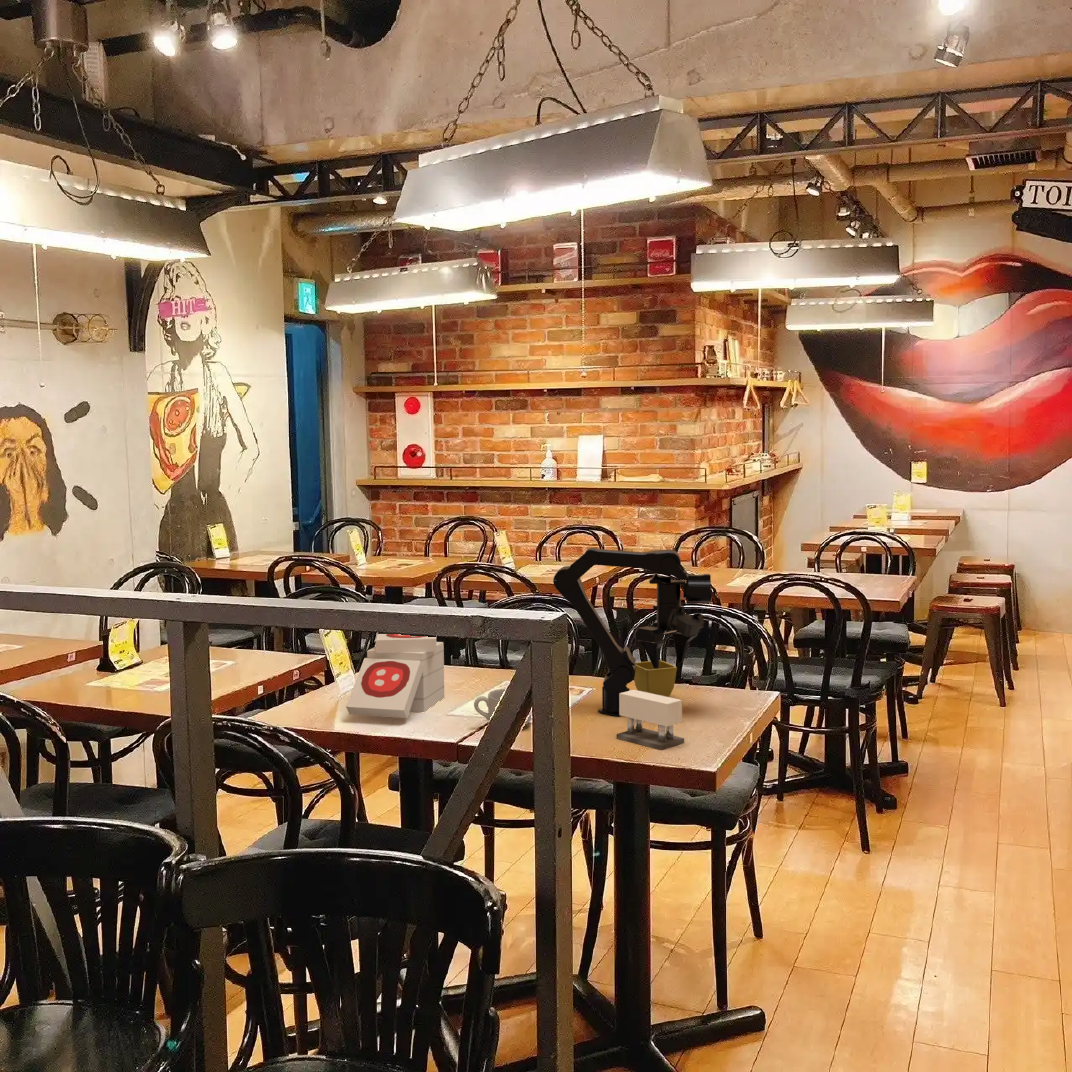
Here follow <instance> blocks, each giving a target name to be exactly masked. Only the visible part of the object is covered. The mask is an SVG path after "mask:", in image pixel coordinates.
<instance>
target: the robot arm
mask: <svg viewBox="0 0 1072 1072" xmlns="http://www.w3.org/2000/svg"><path fill="white" fill-rule="evenodd" d="M594 566H605V567H617V568H618V567H619V568H632V569H642V570H646V571H650V572H652V573H654V575H653V576H652V577H651V578H650V579H649V580H648V582H649V583H648V584H650V585H651V584H652V585H656V605H653V606H652V610H653V611H656V621H654V622H652V626H648V625H647V626H642V627H637V628H636V629H635V631H634V640H636V641H638V643H639V644H641V645H642V647H643V648H644V650H645V652H646V654H647V656H648V658H649V661H651V663H652V665H653V667H654V668H656V669H658V667H659V661H660V655H661V654H660V653H661V647H662V646H663V645H664V644H665V641H663V640H664V638H665V636H667V635H672V638H673V643H674V649H675V655H676V659H677V662H678V664H679V663H680V664H681V663H683V662H684V660H685V657H686V653H687V650H688V647H689V644H690V643H691V641H692V640H694V638H696V637H697V636H698V634H701V633H702V628H704V627H705V626H704V623H705V619H704V614H702V613H700V612H696V613H694V614H693V615H692V614H687V613H686V608H685V606H684V605H682V604H681V603H682V602H681V601H682V600H681V595H682V594H681V590H682V585H683V599H685V600H687V602H688V603H712V593H713V592H712V581H711V575H712V574H710V573H703V574H689V573H688V572H687V569H685V567H684V566H683V565H682V560H681V556H680V554H679V553H678V551H676V550H674V549H671V548H670V549H669V548H668V549H667V548H666V549H657V550H656V549H655V550H651V551H649V550H648V551H631V550H630V551H629V550H618V549H615V550H614V549H602V548H596V547H589V548H588V549H587V550H586V551H585V552H584V553H583V554H582V555H581V556H580V557H578V558H577V559H576V560H575V561H574V562H573V563H571V565H570V566H569V565H567V566H563V567H561V568H559V569H558V570H557V572H556V573H555V574H554V575H553V587H554V588H555V589H556V590H557V591H558V593H560V595H561V596H562V597H563V598H564V599H565V600H566V601H567V602H569V604H570V605H572V606H573V607H574V609H575V611H576V612H577V614H578V615H579V618H580V619H581V621H582V622H583V623H584V625H585V627H586V628H587V629H588V630H587V631H589V633H590V635H591V636H592V637H593V639H594V641H595V642H596V644H597V646H598V647H599V649H600V650H601V652H602V654H603V656H604V659H605V661H606V665H607V667H608V672H607V673H606V674H605V676H604V678H603V682H602V686H601V688H602V689H601V690H602V691H601V694H602V695H601V696H602V697H601V701H602V702H601V706H602V708H599V709H597V712H598V713H601V714H605V715H610V716H615V717H619V716H621V715H619V693H623V692H627V691H630V688H629V687H628V686H627V685H628V684H631V682H632V681H634V677H635V672H636V664H635V663H637V662H636V661H637V659H636V658H635V657H634V655H632V653H631V651H630V649H629V647H628V645H626V646H625V647H624V648H622V647H621V646H619V644H618V643H617V641H616V640H615V638H614V637H613V635H612V634H611V632H610V631H609V629H608V627H607V626H606V624H605V623H604V621H603V619H602V618H601V616H600V614H598V612H597V610H596V609H595V607H594V605H593V604H592V602H591V601H590V598H589V597H588V595H587V593H586V589H585V586H584V584H583V582H582V579H581V578H582V577H583V576H584V575H585V574H586V573H587V572H588V571H589V570H590V569H592V567H594ZM661 575H663V576H661ZM672 577H674V578H675V579H672Z"/></svg>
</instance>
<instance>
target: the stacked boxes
mask: <svg viewBox="0 0 1072 1072" xmlns="http://www.w3.org/2000/svg"><path fill="white" fill-rule="evenodd" d="M444 646H445V645H444V641H437V636H436V637H428V636H410V635H401V634H378V633H377V635H376V639H375V646H374V647H372V648H370V649H368V650H367V651H366V657H364V659H363V661H362V664H361V667H360V668H359V672H358V674H357V677H356V679H355V681H354V684H353V687H352V690H351V693H350V695H349V698H348V700H347V703H346V706H345V708H346V710H347V712H348V714H349V715H353V716H368V717H384V718H398V719H400V718H401V719H408V718H409V714H410V713H422V712H424V713H426V712H427V711H429V710H430V709H431V708H433V707H435V706H436V705H437V704H438V703H437V702H438V701H440V702H442V701H443V700H444V699H445V658H444V657H445V655H444V653H445V652H444V651H445V648H444ZM443 698H444V699H443ZM442 699H443V700H442ZM441 700H442V701H441ZM436 703H437V704H436ZM435 704H436V705H435ZM430 707H431V708H430ZM429 708H430V709H429ZM428 709H429V710H428Z"/></svg>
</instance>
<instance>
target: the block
mask: <svg viewBox="0 0 1072 1072" xmlns="http://www.w3.org/2000/svg"><path fill="white" fill-rule="evenodd" d="M619 715H620V716H621V717H626V718H627V717H629V718H634V720H635V719H638V720H642V722H647V723H651V724H655V725H657V726H658V725H663V726H665V727H666V726H667V727H668V726H671V725H673V726H674V725H679V724H680V723H683V699H679V698H674V697H671V696H669V697H666V696H661V695H656V694H652V693H647V692H642V691H638V690H637V689H632V690H631V689H630V690H629V691H627V692H623V693H619Z"/></svg>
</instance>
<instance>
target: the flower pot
mask: <svg viewBox="0 0 1072 1072" xmlns="http://www.w3.org/2000/svg"><path fill="white" fill-rule="evenodd" d="M635 664H636V672H635V677H634V679H633V681H634V685H635V688H636V690H638V691H642V692H647V693H652V694H656V695H661V696H666V697H671V694H672V692H673V690H674V688H675V682H676V677H677V670H678V668H677V666H675V664H674V665H673V664H671V663H669V662H666V661H664V660H660V659H659V667H658V669H656V668H654V667H653V665H652V663H651V660H649V661H640V662H635Z"/></svg>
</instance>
